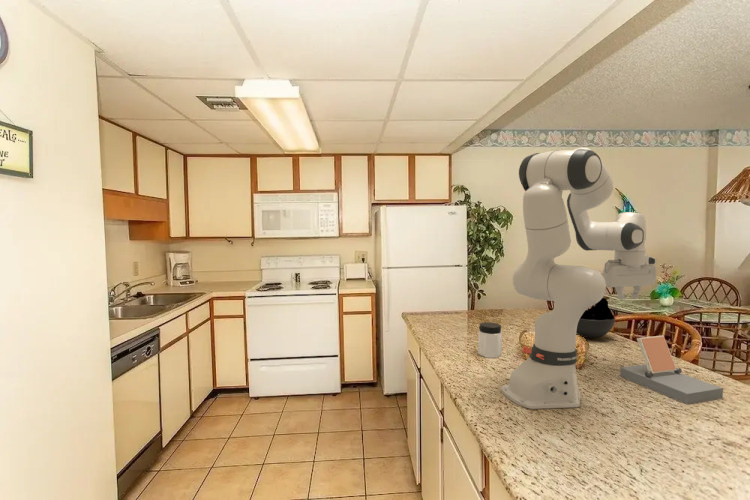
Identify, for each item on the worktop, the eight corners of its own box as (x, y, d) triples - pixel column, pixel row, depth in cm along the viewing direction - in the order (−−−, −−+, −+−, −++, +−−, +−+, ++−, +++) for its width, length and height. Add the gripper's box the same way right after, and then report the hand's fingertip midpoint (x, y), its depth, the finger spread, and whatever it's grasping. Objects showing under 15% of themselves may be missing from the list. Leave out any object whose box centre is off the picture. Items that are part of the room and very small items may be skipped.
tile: (649, 373, 118) (653, 373, 116) (636, 338, 122) (640, 337, 120) (673, 370, 120) (677, 370, 119) (660, 336, 124) (663, 335, 123)
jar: (474, 352, 150) (474, 323, 149) (490, 350, 153) (490, 321, 153) (489, 359, 142) (489, 328, 141) (505, 356, 145) (506, 326, 144)
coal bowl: (620, 345, 158) (622, 301, 157) (568, 341, 165) (569, 299, 164) (607, 333, 177) (609, 293, 176) (561, 329, 184) (562, 291, 183)
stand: (686, 404, 105) (687, 387, 105) (620, 376, 125) (620, 362, 125) (722, 398, 109) (723, 382, 109) (652, 371, 129) (652, 358, 129)
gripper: (613, 260, 123) (612, 302, 124) (660, 259, 129) (659, 299, 129) (597, 259, 129) (596, 298, 130) (643, 258, 135) (642, 295, 135)
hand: (628, 298), depth 130 cm, fingers open, 4 cm apart
